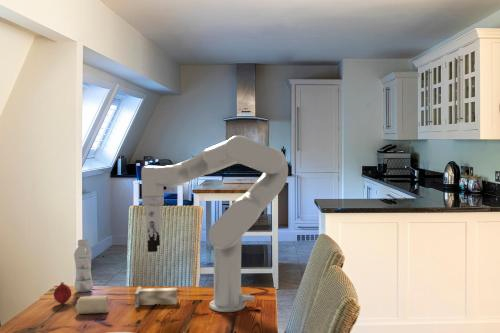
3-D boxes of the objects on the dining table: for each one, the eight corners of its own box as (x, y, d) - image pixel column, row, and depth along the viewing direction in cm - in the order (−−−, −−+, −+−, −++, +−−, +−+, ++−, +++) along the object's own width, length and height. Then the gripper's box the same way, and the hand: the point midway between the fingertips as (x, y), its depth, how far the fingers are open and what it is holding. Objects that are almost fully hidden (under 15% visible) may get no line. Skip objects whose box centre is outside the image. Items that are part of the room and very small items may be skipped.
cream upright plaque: (177, 299, 178) (177, 285, 178) (176, 306, 170) (176, 292, 170) (138, 300, 176) (138, 286, 176) (135, 307, 168) (134, 293, 168)
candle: (104, 302, 160) (73, 303, 159) (106, 316, 162) (75, 317, 161) (107, 292, 165) (77, 293, 164) (108, 306, 167) (78, 307, 166)
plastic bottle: (89, 294, 183) (88, 241, 182) (71, 294, 183) (71, 241, 182) (95, 289, 189) (94, 238, 188) (78, 289, 189) (77, 238, 188)
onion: (74, 304, 172) (74, 281, 172) (58, 308, 168) (58, 285, 167) (66, 300, 176) (66, 278, 176) (51, 304, 172) (50, 282, 171)
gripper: (161, 203, 163) (162, 253, 164) (165, 197, 180) (166, 243, 181) (139, 203, 162) (140, 254, 163) (145, 198, 179) (146, 243, 180)
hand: (154, 248), depth 172 cm, fingers open, 9 cm apart
